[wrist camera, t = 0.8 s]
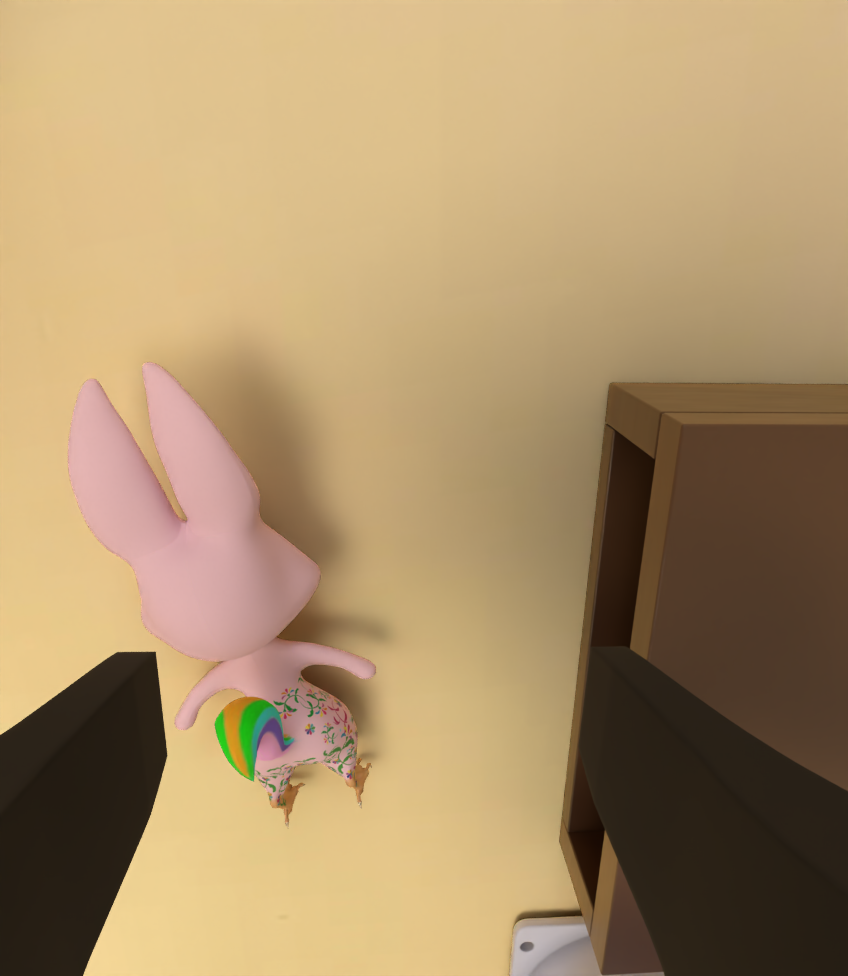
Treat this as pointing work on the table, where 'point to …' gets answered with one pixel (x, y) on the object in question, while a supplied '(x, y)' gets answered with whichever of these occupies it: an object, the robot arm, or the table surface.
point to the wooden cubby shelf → (716, 590)
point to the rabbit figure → (215, 582)
